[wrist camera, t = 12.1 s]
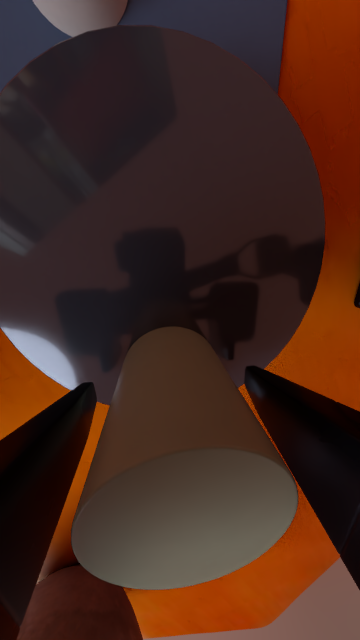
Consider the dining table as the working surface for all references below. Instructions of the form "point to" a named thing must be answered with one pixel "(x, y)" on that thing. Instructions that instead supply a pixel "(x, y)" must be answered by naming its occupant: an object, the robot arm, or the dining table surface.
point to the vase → (78, 609)
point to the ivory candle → (81, 14)
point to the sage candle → (179, 473)
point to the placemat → (163, 11)
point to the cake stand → (151, 205)
